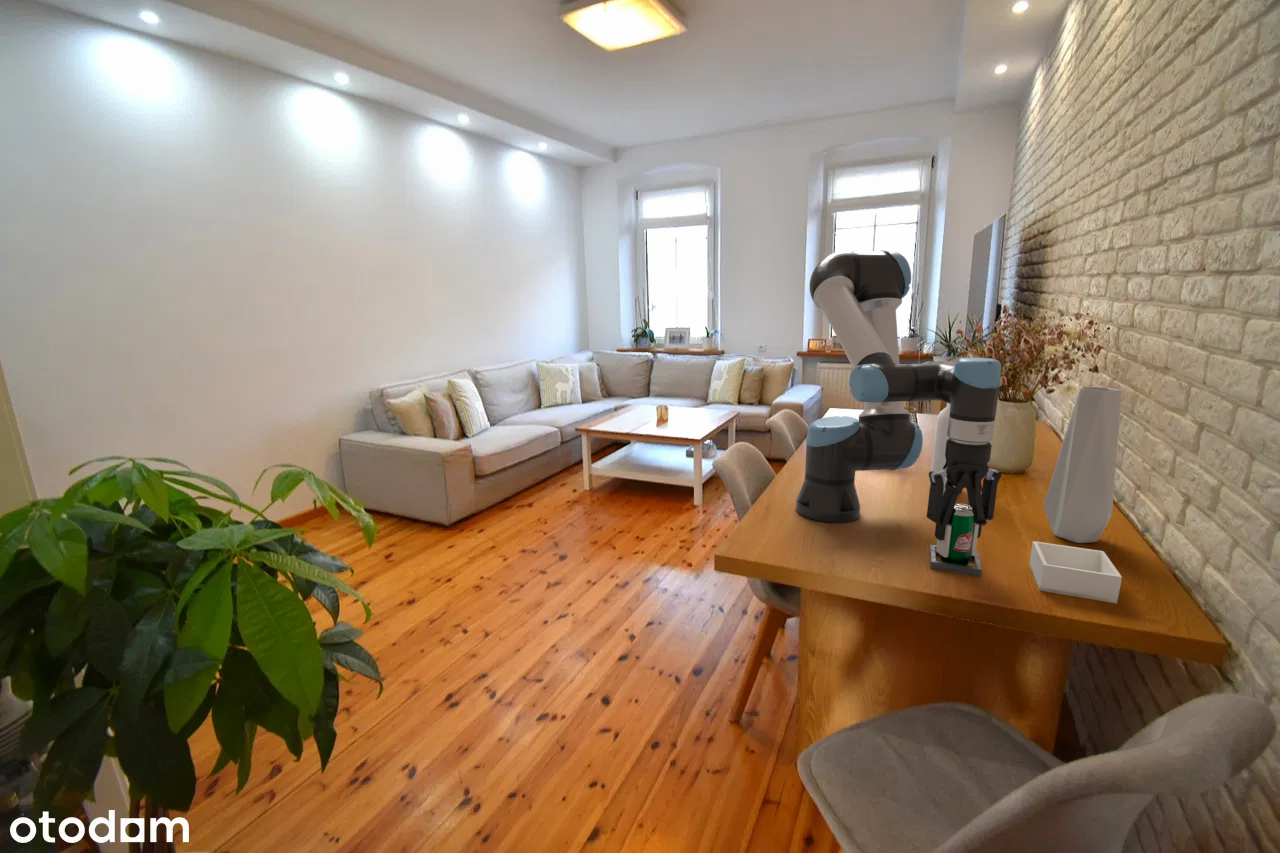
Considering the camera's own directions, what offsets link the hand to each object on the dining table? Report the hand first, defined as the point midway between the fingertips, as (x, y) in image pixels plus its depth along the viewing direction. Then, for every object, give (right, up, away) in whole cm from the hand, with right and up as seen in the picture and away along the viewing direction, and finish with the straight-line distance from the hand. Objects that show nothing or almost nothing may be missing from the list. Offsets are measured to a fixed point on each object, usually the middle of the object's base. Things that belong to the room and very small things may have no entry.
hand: (955, 553), depth 114 cm
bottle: (+21, +8, +44) cm, 49 cm away
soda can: (0, -2, +1) cm, 2 cm away
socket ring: (0, -2, 0) cm, 2 cm away
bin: (+17, -4, -8) cm, 19 cm away
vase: (+33, +1, +13) cm, 36 cm away
